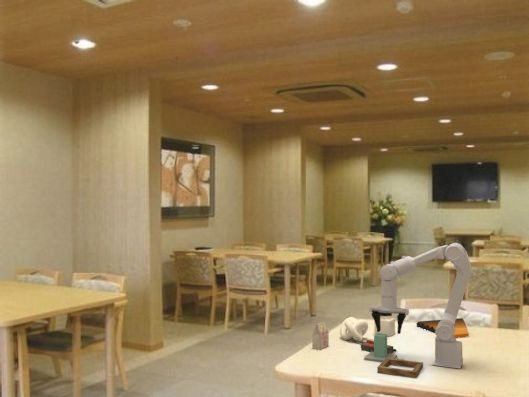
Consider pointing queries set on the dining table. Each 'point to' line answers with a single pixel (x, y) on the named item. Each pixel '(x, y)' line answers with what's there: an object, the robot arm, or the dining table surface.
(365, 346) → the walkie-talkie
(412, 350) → the dining table surface
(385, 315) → the medicine bottle
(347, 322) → the cream rounded sculpture
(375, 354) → the green block
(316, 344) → the tea box
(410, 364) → the brown square frame
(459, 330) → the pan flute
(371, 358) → the ceramic tile
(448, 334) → the robot arm
